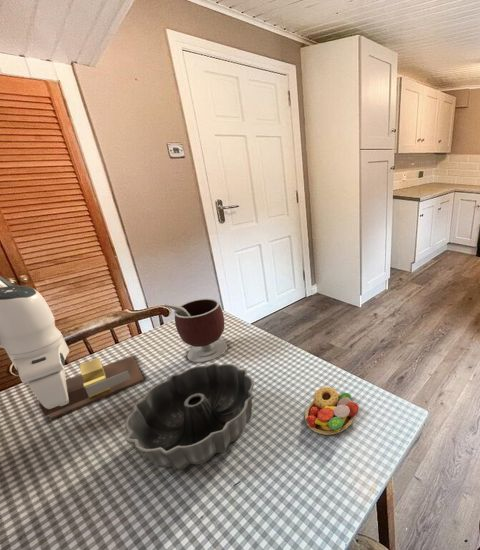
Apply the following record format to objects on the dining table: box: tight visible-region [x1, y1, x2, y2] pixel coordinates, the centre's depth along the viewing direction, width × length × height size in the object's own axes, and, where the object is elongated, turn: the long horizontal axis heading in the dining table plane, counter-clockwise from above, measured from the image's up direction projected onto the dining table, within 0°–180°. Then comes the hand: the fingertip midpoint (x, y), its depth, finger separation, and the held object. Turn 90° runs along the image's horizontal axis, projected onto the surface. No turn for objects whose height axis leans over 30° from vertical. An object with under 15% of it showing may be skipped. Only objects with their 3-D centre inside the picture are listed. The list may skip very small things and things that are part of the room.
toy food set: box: [304, 386, 360, 436], centre depth 78 cm, size 13×13×3 cm
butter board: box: [49, 355, 145, 421], centre depth 88 cm, size 20×16×5 cm
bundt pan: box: [124, 362, 255, 471], centre depth 72 cm, size 26×26×10 cm
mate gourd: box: [164, 298, 228, 363], centre depth 100 cm, size 16×14×20 cm
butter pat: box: [84, 376, 110, 398], centre depth 84 cm, size 4×2×4 cm, turn 135°
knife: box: [38, 371, 131, 417], centre depth 77 cm, size 17×2×4 cm, turn 136°
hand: (64, 399), depth 74 cm, fingers closed on knife, 2 cm apart
